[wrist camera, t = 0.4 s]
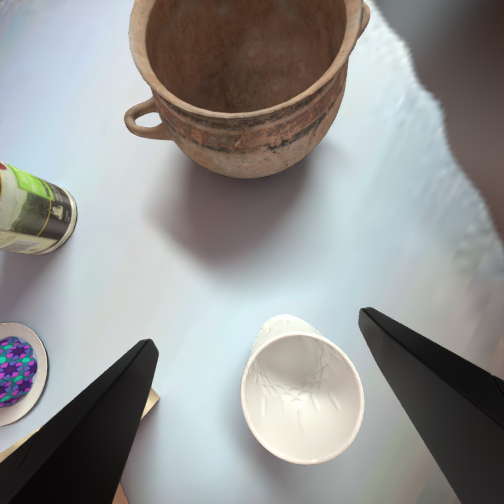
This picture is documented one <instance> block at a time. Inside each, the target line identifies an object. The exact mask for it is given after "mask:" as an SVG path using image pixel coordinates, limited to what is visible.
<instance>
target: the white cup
mask: <svg viewBox="0 0 504 504" xmlns="http://www.w3.org/2000/svg"><path fill="white" fill-rule="evenodd" d="M241 404H242V409H243V413H244V416H245V419H246V422H247V424H248V426H249V428H250V430H251V432H252V433H253V435H254V436H255V438H256V439H257V440H258V441H259V443H260V444H261V445H262V446H263V447H264V448H265V449H267V450H268V451H269V452H270V453H272V454H273V455H275V456H276V457H278V458H280V459H282V460H284V461H287V462H290V463H294V464H299V465H315V464H320V463H324V462H327V461H329V460H331V459H333V458H335V457H337V456H338V455H340V454H341V453H342V452H344V451H345V450H346V449H347V448H348V447H349V445H350V444H351V443H352V441H353V440H354V438H355V437H356V435H357V433H358V431H359V429H360V426H361V423H362V419H363V414H364V394H363V388H362V384H361V381H360V378H359V375H358V373H357V371H356V369H355V367H354V365H353V364H352V362H351V361H350V359H349V358H348V357H347V356H346V354H345V353H344V352H343V351H342V350H341V349H340V348H339V347H337V346H336V345H335V344H334V343H332V342H331V341H330V340H328V339H327V338H326V337H325V336H323V335H322V334H321V333H320V332H319V331H317V330H316V329H315V328H313V327H312V326H311V325H309V324H308V323H306V322H304V321H303V320H302V319H300V318H297V317H295V316H292V315H289V314H285V315H276V316H274V317H272V318H271V319H269V320H268V321H266V322H265V323H264V324H263V326H262V328H261V329H260V331H259V333H258V335H257V337H256V339H255V342H254V344H253V347H252V350H251V353H250V356H249V359H248V362H247V365H246V368H245V371H244V374H243V378H242V383H241Z"/></svg>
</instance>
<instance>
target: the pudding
mask: <svg viewBox="0 0 504 504" xmlns="http://www.w3.org/2000/svg"><path fill="white" fill-rule="evenodd" d="M7 336H18V337H21V338H23V339H25V340H27V341H28V342H29V343H30V344H31V345H32V347H33V348H34V350H35V352H36V355H37V359H38V374H37V378H36V381H35V384H34V386H33V388H32V389H31V387H32V384H33V383H32V377H33V376H34V374H35V373H36V371H37V362H36V360H35V359H34V358H33V357H32V353H33V349H32V347H31V345H29V344H28V343H27V342H25V343H21V342H20V341H19V339H18V338H16V337H9V338H6V339H4V340H1V341H0V426H3V425H7V424H10V423H12V422H14V421H16V420H18V419H19V418H21V417H22V416H24V415H25V414H26V413H27V412H28V411H29V410H30V409H31V408H32V407H33V405H34V404H35V403H36V401H37V400H38V398H39V396H40V394H41V392H42V389H43V387H44V384H45V380H46V375H47V357H46V353H45V349H44V346H43V344H42V342H41V340H40V339H39V337H38V336H37V335H36V334H35V333H34V332H33V331H32V330H31V329H29V328H28V327H26V326H24V325H21V324H19V323H12V322H11V323H2V324H0V339H1V338H4V337H7ZM30 389H31V391H30ZM29 391H30V392H29ZM28 392H29V394H28V395H27V396H26V397H25V398H24V399H23V400H22V401H20V402H19V403H17V404H15V405H13V406H10V405H12V404H14V403H16V402H17V400H18V398H19V396H22V395H26V394H27V393H28ZM6 406H10V407H6Z"/></svg>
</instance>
